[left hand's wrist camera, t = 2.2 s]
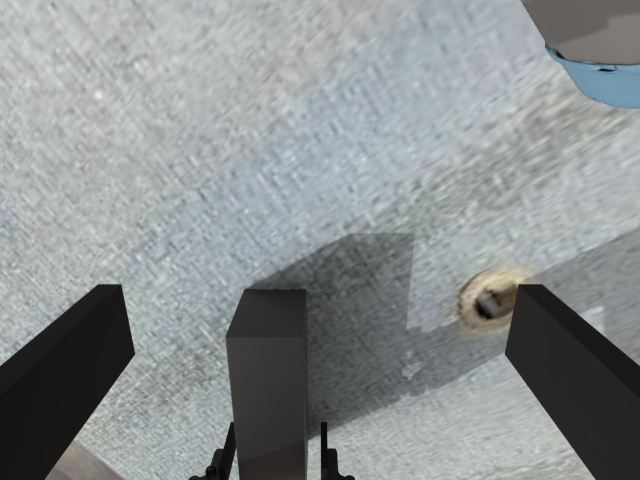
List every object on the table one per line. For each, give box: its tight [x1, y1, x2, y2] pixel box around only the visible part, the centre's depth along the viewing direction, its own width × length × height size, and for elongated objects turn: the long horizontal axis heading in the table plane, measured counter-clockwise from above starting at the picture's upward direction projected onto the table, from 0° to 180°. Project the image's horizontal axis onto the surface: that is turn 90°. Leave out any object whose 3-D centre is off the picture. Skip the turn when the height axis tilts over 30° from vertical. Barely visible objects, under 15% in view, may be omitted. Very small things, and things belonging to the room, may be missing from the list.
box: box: [226, 290, 308, 480], centre depth 43 cm, size 23×7×9 cm, turn 0°
